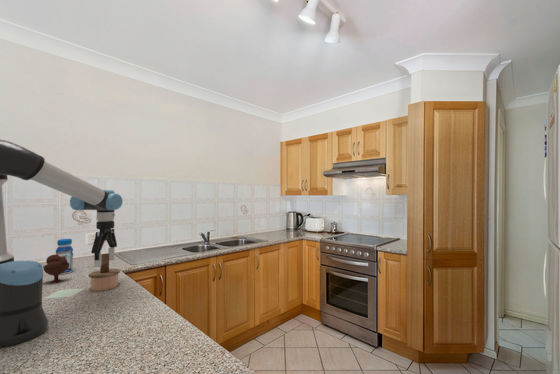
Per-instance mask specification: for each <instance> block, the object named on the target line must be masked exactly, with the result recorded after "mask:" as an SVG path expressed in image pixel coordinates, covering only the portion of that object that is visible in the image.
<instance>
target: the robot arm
mask: <svg viewBox="0 0 560 374" xmlns="http://www.w3.org/2000/svg"><path fill="white" fill-rule="evenodd" d="M8 176H11V177H15V178H18V179H21V180H24V181H30V180H32V181H34V182H36V183H38V184H41V185H43V186H46V187H48V188H51V189H53V190H56V191H58V192H61V193H63V194H65V195H68V196H70V198H69V206H70V208H71V209H72V210H74V211H96V217H95V218H96V228H95V229H97V230H99V231H96V232H95V235H94V241H93V243H92V248H91V254H94V255H93V256H94V258H93V260H94V261H93V267H94V268H100V267H101V254H102V252H101V251H102V249H103V246H104V244H105V242H106V243H107V245H108V249H107V250H108V251H107V253H109V261H115V259H116V258H115V251H116V249H115V248H117V246H118V243H117V237H116V233H115V216H116V214H115V211H117V210H119V209H120V208H121V207H122V206H123V198H122V195H120V194H119V193H115V191H114V190H111V189H102V188H99V187H98V186H96V185H93V184H92V183H89V182H87V181H85V180H84V179H82V178H80V177H78V176H76V175H74V174H71V173H69V172H68V171H65V170H63V169H61V168H59V167H57V166H55V165H53V164H51V163H49V162H47V161H46V158H45V157H43V156H42V155H40V154H38V153H36V152H34V151H32V150H30V149H27V148H26V147H23V146H21V145H19V144H16V143H14V142H11V141H9V140H5V139H0V348H3V347H2V346H6V347H9V345H11V346H15V345H17V344H21V343H24V342H26V341H30V340H32V339H34V338H37V337H38V336H40V335H42V334H44V333H45V332H46V331H48V328H49V319H48V317H47V315H46V313H45V310H44V308H43V303H42V302H43V281H44V280H43V278H44V272H43V271H44V268H43V265H42V263H40V262H39V261H34V260H15V256H14V255H13V254H12V253H10V252H8V246H7V245H8V244H7V233H6V219H5V218H6V217H5V208H4V196H3V194H4V193H3V185H4V184H5V183H6V182H8ZM14 344H15V345H14Z"/></svg>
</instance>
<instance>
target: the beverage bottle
mask: <svg viewBox="0 0 560 374" xmlns="http://www.w3.org/2000/svg"><path fill="white" fill-rule="evenodd" d="M72 241H73V239H72V238H61V239H58V240H57V246H58V247H57V248H56V249H55V255H59V256H61V257H64V258H66V259H67V262H69V263H70V264H69V267H68V269H67V270H66V271H65V272H63V273H61V274H60V275H66V274H70V273H72V272H73V270H74V269H73V267H74V264H73V263H74V261H73V260H74V252H73V251H74V248H73V247H72V243H73V242H72Z"/></svg>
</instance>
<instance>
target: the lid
mask: <svg viewBox="0 0 560 374" xmlns="http://www.w3.org/2000/svg"><path fill="white" fill-rule="evenodd" d="M99 269H100V270H95V271H92V272H90V273H88V278H90V279H91V278H103V277H109V276H113V275H116V274H118V275H119V274H120V273H121V270H120V269H118V268H110V260H109V253H108V252H107V253H101V267H99Z"/></svg>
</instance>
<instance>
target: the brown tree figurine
mask: <svg viewBox="0 0 560 374" xmlns="http://www.w3.org/2000/svg"><path fill="white" fill-rule="evenodd" d="M45 261H46V264H45V265H42V268H43V271H44V273H46V274H47V275H48V276H53V278H54V279H52V280H51V281H50V282H49V284H57V283H60V282H63V280H62V279H60V278H59V276H60V275H62V274H61V273H63V272H65V271H66V270H67V269H68V267H69V264H70V263H69V262H67V259H66V258H64V257H61V256H59V255H56V254H51V255H49V256H47V258H46V260H45Z"/></svg>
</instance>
